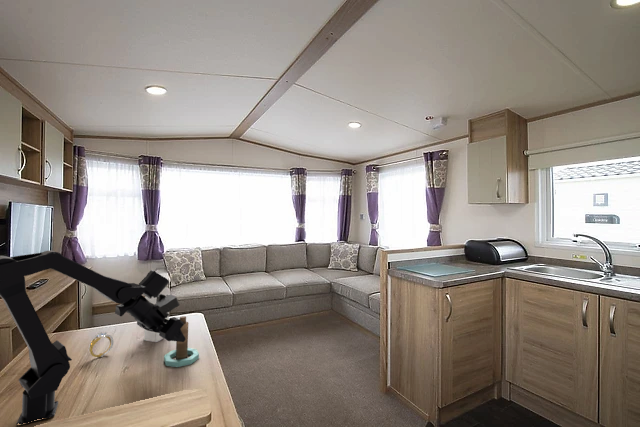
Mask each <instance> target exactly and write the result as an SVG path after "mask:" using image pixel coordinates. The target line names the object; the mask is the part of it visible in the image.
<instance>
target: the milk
mask: <svg viewBox="0 0 640 427" xmlns="http://www.w3.org/2000/svg"><path fill="white" fill-rule="evenodd" d="M170 291H171V290H170V288H169V287H167V286H166V287H165V288H164V289H163V291H162V292H161V293H160V294H163V295H165V296H166V295H170ZM144 297H145V298H146V299H147V300H148V301H149V302H151V303H153V304H156V300H157V297H156V298H154V297H152V298H151V299H150V298H148V297H146V296H145V295H144ZM168 314H169V315H168V317H167V318H165V319H167V320H169V319H170V318H169V317H170V312H168ZM164 323H165V322H164ZM163 339H164V338H162V337H161V336H159V333H157V332H152V331H148V330H146V329H143V341H147V342H151V343H152V342H153V343H157V342H160V341H162V340H163ZM164 340H165V339H164Z"/></svg>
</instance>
